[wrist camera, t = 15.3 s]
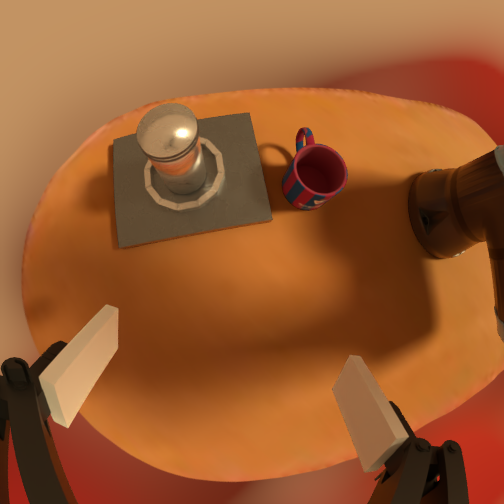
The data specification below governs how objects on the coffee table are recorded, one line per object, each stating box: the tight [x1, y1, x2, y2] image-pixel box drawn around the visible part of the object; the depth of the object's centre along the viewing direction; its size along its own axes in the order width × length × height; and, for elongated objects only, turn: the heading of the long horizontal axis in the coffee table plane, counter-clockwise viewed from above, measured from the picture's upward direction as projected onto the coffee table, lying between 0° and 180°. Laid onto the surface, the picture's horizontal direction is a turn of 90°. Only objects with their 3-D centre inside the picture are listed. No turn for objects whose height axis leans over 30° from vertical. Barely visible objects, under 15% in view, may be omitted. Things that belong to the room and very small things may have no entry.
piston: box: [137, 103, 206, 194], centre depth 28 cm, size 6×6×12 cm
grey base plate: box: [113, 113, 273, 249], centre depth 34 cm, size 20×16×3 cm
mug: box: [282, 128, 348, 210], centre depth 33 cm, size 7×10×7 cm
